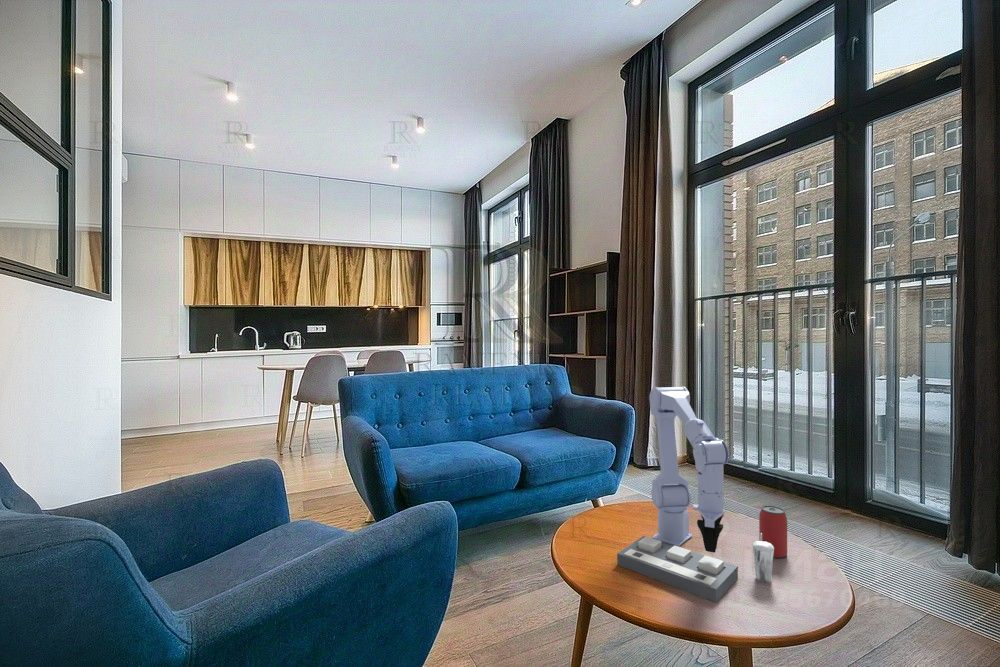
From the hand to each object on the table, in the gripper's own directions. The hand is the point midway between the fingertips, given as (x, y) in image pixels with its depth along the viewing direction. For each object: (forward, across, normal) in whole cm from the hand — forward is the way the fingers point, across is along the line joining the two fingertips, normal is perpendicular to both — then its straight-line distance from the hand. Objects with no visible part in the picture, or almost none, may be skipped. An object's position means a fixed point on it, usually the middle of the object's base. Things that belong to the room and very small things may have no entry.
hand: (710, 545), depth 118 cm
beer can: (+9, -22, +15) cm, 27 cm away
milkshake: (+9, -6, +11) cm, 15 cm away
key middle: (+7, -3, -8) cm, 11 cm away
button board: (+8, -1, -8) cm, 12 cm away
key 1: (+7, -5, -15) cm, 17 cm away
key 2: (+7, 0, 0) cm, 7 cm away
